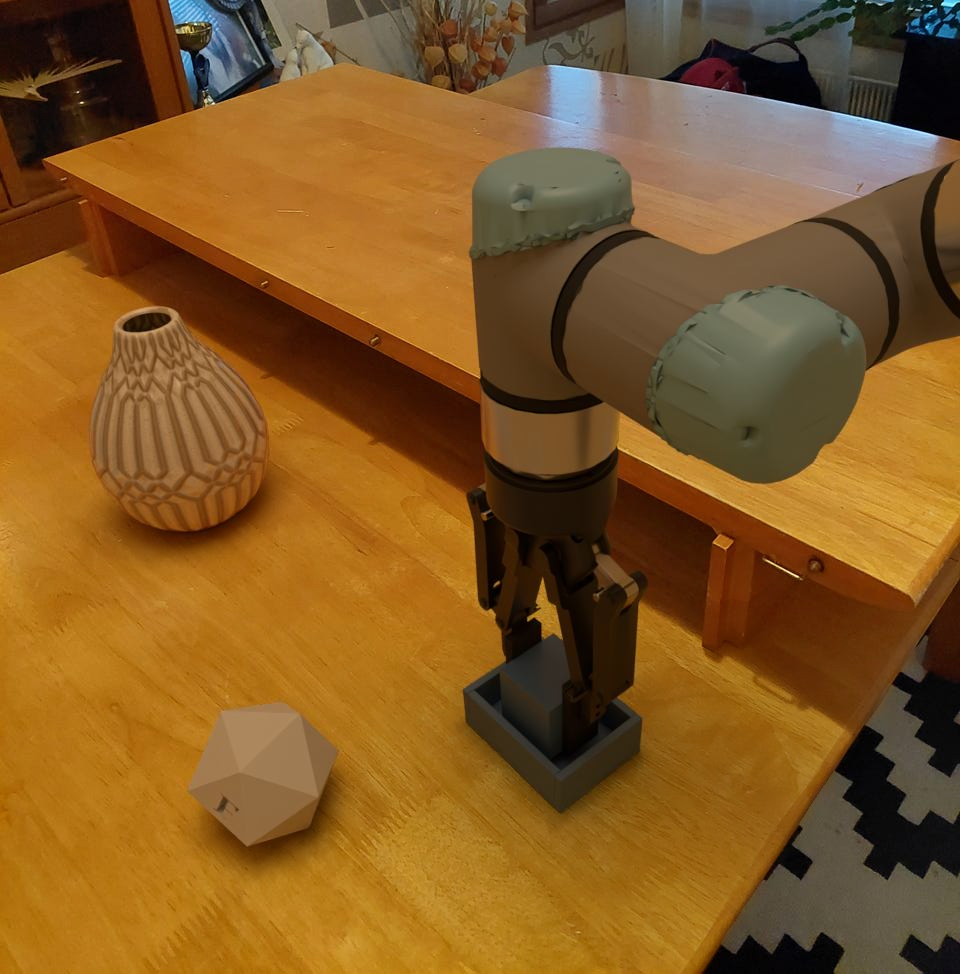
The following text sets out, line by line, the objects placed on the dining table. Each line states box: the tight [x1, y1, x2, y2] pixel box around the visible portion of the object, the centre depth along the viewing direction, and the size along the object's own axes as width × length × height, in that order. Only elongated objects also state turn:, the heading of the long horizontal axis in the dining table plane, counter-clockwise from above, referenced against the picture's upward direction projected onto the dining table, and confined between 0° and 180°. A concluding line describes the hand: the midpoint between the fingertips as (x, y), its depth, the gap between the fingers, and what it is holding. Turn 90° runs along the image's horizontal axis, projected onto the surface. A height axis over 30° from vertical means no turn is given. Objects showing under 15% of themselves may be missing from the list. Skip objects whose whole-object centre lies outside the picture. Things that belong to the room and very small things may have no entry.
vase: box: [88, 305, 270, 533], centre depth 85 cm, size 16×16×20 cm
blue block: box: [500, 632, 602, 760], centre depth 64 cm, size 5×5×5 cm
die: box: [186, 701, 340, 847], centre depth 61 cm, size 8×9×10 cm
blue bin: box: [462, 636, 644, 814], centre depth 66 cm, size 10×8×4 cm
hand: (551, 716), depth 65 cm, fingers closed on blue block, 5 cm apart
